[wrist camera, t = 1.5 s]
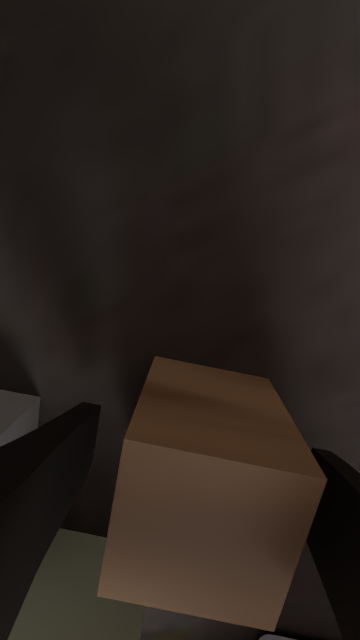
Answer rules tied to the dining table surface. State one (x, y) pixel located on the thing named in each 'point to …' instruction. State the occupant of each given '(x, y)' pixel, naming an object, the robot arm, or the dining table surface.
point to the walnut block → (210, 498)
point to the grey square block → (17, 415)
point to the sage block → (74, 596)
